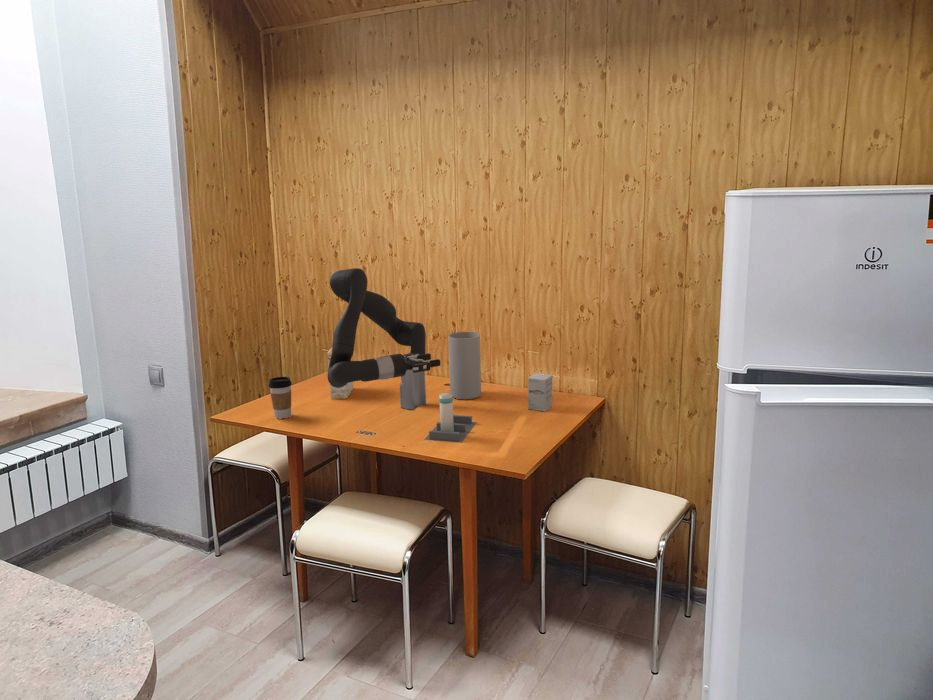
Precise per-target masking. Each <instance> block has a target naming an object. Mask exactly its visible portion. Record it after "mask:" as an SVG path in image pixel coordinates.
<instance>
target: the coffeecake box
mask: <svg viewBox="0 0 933 700" xmlns="http://www.w3.org/2000/svg"><path fill="white" fill-rule="evenodd" d="M326 355H327V364H328V365H327V367H328V368H329V363H330V359H331V355H332V347H331V348H330V349H329V350H328V352H327V353H326ZM353 387H354V382H349V383H347V384H346V385H345V386H343V387H341V388H336V387H333V386H332V385H331V384H330V383H329V389H330V391H329V392H330V393H329V394H330V400H341V399H340V398H347V399H348V398H349V397H350V395H351V393H352V392H351V391H353V389H354V388H353ZM348 396H349V397H348Z"/></svg>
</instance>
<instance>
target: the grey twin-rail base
mask: <svg viewBox="0 0 933 700" xmlns="http://www.w3.org/2000/svg"><path fill="white" fill-rule="evenodd" d="M453 420H454V432H443V431H441V422H440V421H438V422H436V426H435V427H434V428H433V429H431V430H429V432H428V435H427V436H426V437H425V438H424V439H423V440H424V441H433V442H434V441H435V442H436V441H437V442H449V443H463V442H464V441H465V439H466V438H467V436H468V435H469V434H470V433H471V431H472V429H473V428H474V427H475V426H476V424H477V423H478V422H477V421H473V416H472V415H462V414H461V415H458V414H453Z"/></svg>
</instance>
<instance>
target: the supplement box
mask: <svg viewBox="0 0 933 700" xmlns="http://www.w3.org/2000/svg"><path fill="white" fill-rule="evenodd" d="M550 407H551V408H552V407H553V375H552V374H543V373H537V372H536V373H533V374H531V375H530V376H528V377H527V410H528V409H529V410H531V409H532V411H538V412H539V411H540V412H544V411H546V412H547V411H548V410H550V409H551V408H550Z"/></svg>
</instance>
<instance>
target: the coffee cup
mask: <svg viewBox="0 0 933 700" xmlns="http://www.w3.org/2000/svg"><path fill="white" fill-rule="evenodd" d="M268 387H269V389H270V398H271V403H272V409H273V414H274V418H275V417H276V418H286V419H289V418H291V417H292V389H291V388H292V381H291V378H290V377H288V376H276V377H273V378H270V379H268ZM290 416H291V417H290ZM288 417H289V418H288ZM276 418H275V419H276Z"/></svg>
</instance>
